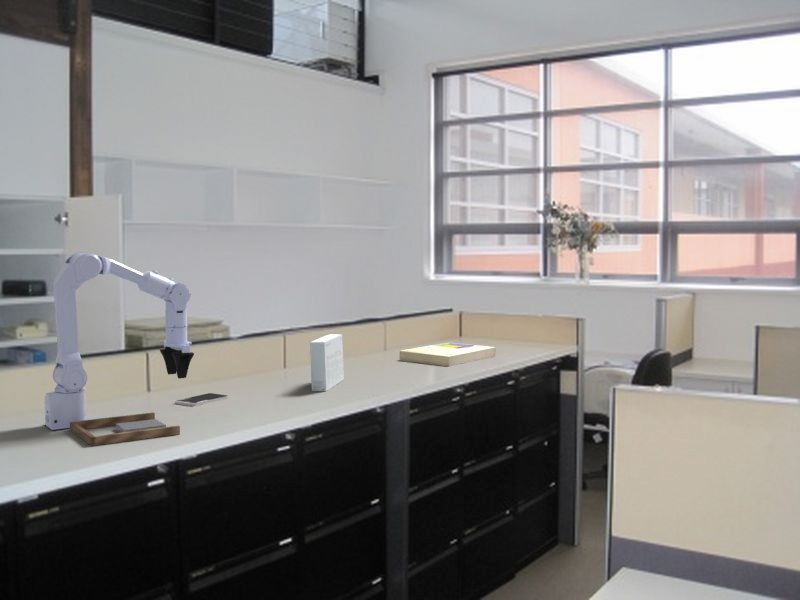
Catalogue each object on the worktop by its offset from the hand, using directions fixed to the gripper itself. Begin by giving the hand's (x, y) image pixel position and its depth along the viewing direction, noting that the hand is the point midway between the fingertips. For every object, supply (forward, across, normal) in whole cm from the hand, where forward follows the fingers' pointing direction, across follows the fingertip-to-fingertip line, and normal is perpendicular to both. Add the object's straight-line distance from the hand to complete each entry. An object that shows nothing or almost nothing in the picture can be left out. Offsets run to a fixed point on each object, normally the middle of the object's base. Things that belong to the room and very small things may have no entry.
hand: (176, 376), depth 226 cm
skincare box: (+10, +14, -56) cm, 59 cm away
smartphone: (+11, +12, -12) cm, 20 cm away
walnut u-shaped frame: (+10, -15, +19) cm, 26 cm away
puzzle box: (+11, +41, -129) cm, 136 cm away
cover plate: (+11, -15, +15) cm, 24 cm away
